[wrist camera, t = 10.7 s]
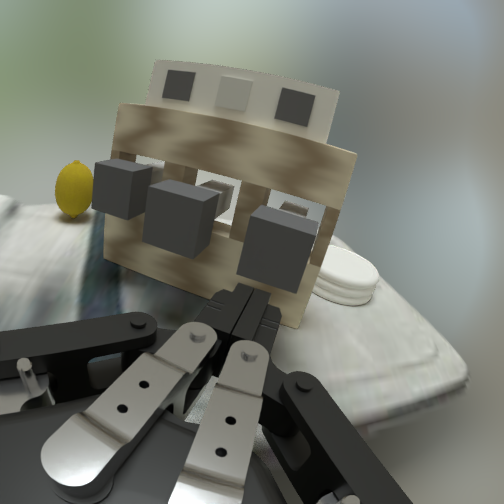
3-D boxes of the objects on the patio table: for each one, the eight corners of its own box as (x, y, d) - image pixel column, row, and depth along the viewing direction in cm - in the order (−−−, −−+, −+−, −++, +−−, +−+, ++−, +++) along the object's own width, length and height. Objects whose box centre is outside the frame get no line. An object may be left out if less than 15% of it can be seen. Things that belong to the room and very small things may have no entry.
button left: (91, 208, 24) (95, 162, 23) (150, 187, 33) (155, 151, 32) (127, 220, 24) (132, 171, 22) (181, 195, 33) (188, 159, 31)
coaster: (285, 285, 36) (294, 258, 34) (306, 258, 44) (314, 235, 43) (367, 318, 33) (379, 291, 31) (372, 284, 42) (381, 261, 40)
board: (103, 258, 31) (119, 102, 24) (133, 240, 36) (152, 105, 30) (297, 329, 28) (357, 154, 22) (303, 298, 33) (352, 151, 27)
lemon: (84, 228, 36) (88, 166, 33) (48, 222, 35) (49, 162, 31) (97, 213, 41) (102, 158, 38) (64, 209, 39) (67, 155, 36)
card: (143, 105, 25) (154, 59, 23) (148, 105, 25) (158, 60, 23) (325, 144, 22) (339, 91, 21) (325, 144, 23) (339, 92, 21)
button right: (236, 274, 20) (250, 215, 18) (266, 229, 29) (277, 188, 28) (296, 294, 20) (316, 235, 18) (308, 242, 29) (321, 201, 27)
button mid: (141, 241, 21) (148, 186, 19) (197, 208, 30) (205, 168, 28) (193, 259, 20) (203, 201, 19) (236, 220, 30) (245, 179, 28)
